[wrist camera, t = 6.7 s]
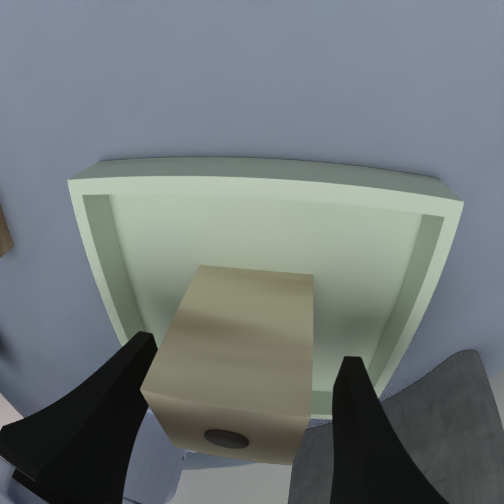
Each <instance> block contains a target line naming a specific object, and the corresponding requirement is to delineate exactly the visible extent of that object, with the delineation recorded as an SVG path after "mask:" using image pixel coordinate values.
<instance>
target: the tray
mask: <svg viewBox="0 0 504 504" xmlns="http://www.w3.org/2000/svg"><path fill="white" fill-rule="evenodd" d="M67 181H68V186H69V191H70V195H71V199H72V204H73V208H74V212H75V216H76V219H77V223H78V227H79V230H80V234H81V237H82V241H83V244H84V247H85V251H86V254H87V257H88V260H89V263H90V266H91V269H92V272H93V275H94V278H95V281H96V284H97V287H98V289H99V292H100V295H101V297H102V300H103V303H104V305H105V308H106V310H107V313H108V315H109V318H110V320H111V323H112V325H113V327H114V330H115V332H116V334H117V337H118V339H119V341H120V343H121V346H122V347H123V346H124V345H125V344H126V343H127V342H128V341H129V340H130V339H131V338H132V337H133V336H134V335H135V334H136V333H137V332H139V331H143V332H148V333H153V335H154V338H155V341H156V344H157V347H158V349H159V347H160V345H161V343H162V340H163V338H164V336H165V334H166V332H167V330H168V328H169V326H170V324H171V322H172V320H173V318H174V316H175V313H176V311H177V309H178V307H179V305H180V303H181V301H182V299H183V297H184V295H185V293H186V291H187V289H188V287H189V285H190V283H191V281H192V279H193V277H194V275H195V273H196V271H197V269H198V267H199V265H208V266H218V267H229V268H240V269H251V270H263V271H275V272H287V273H299V274H311V275H313V371H312V399H311V417H310V419H332V397H333V385H334V382H335V380H336V377H337V374H338V372H339V369H340V366H341V364H342V361H343V358H344V356H359V357H361V358H362V359H363V362H364V365H365V368H366V370H367V373H368V375H369V378H370V380H371V383H372V385H373V387H374V390H375V392H376V394H377V397H378V398H379V397H380V395H381V393H382V392H383V390H384V389H385V387H386V385H387V384H388V382H389V380H390V379H391V377H392V375H393V373H394V372H395V370H396V368H397V366H398V365H399V363H400V361H401V359H402V357H403V355H404V354H405V352H406V350H407V348H408V346H409V344H410V342H411V340H412V338H413V336H414V334H415V332H416V330H417V328H418V326H419V324H420V322H421V320H422V318H423V315H424V313H425V311H426V309H427V307H428V304H429V302H430V300H431V297H432V295H433V293H434V290H435V288H436V285H437V283H438V280H439V278H440V275H441V273H442V270H443V267H444V265H445V262H446V259H447V256H448V254H449V251H450V248H451V245H452V242H453V239H454V236H455V233H456V229H457V226H458V223H459V219H460V216H461V212H462V209H463V205H464V201H463V200H462V199H461V198H460V197H459V196H458V195H456V194H455V193H454V192H453V191H452V190H451V189H450V188H449V187H448V186H446V185H445V184H444V183H443V182H442V181H441V180H440V179H438V178H434V177H429V176H423V175H417V174H411V173H405V172H399V171H392V170H385V169H378V168H370V167H362V166H354V165H345V164H336V163H325V162H314V161H301V160H286V159H268V158H241V157H169V158H143V159H125V160H111V161H100V162H98V163H96V164H94V165H92V166H91V167H89V168H87V169H85V170H83V171H82V172H80V173H78V174H76V175H75V176H73V177H71V178H70V179H68V180H67Z"/></svg>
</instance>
